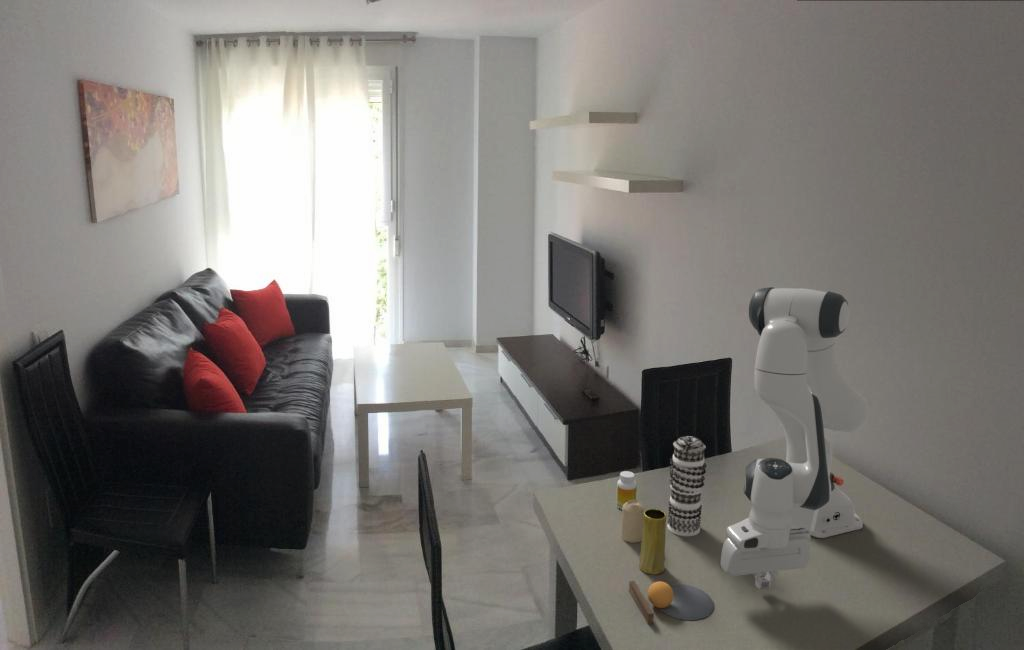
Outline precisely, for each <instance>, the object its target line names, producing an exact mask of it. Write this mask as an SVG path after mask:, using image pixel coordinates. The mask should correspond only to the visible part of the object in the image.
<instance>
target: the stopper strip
mask: <svg viewBox="0 0 1024 650" xmlns="http://www.w3.org/2000/svg"><path fill="white" fill-rule="evenodd" d="M628 581H629V580H628ZM628 584H629V585H628V592H629V594H630V596H631V597H632V599H633V602H634V603H635V605H637V608H638V609H639V611H640V613H641V615H642V616H643V618H644V619H645V622H646V623H647V625H654V621H655V613H654V611H653V610H652V607H651V606H650V604H649V602H648V601H647V599H646V597H645V596H644V595H643V593H642V591H641V590H640V588H639V586H638V585H637V582H636V581H635V580H631V581H629V582H628Z"/></svg>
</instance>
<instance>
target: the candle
mask: <svg viewBox="0 0 1024 650" xmlns="http://www.w3.org/2000/svg"><path fill="white" fill-rule="evenodd" d="M621 511H622V512H621V526H620V527H621V529H620V535H621V536H620V537H621V539H622V540H623V541H624V542H627V543H633V544H635V543H639V542H642V532H643V516H644V511H645V505H643V504H642V503H641V502H639V501H638V500H637V499H636V500H629V501H627V502H626V503H625V504H623V506H622V509H621Z"/></svg>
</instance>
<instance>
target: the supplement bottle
mask: <svg viewBox="0 0 1024 650" xmlns="http://www.w3.org/2000/svg"><path fill="white" fill-rule="evenodd" d="M637 486H638V485H637V482H636V480H635V473H634V472H632V471H627V470H625V471H621V472H620V473H619V479H618V480H617V482H616V499H615V501H616V503H615V505H616V507H617V509H619V508H620V510H622V506H623V504H625V503H626V502H627V501H629V500H637V488H638V487H637Z"/></svg>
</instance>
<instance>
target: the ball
mask: <svg viewBox="0 0 1024 650" xmlns="http://www.w3.org/2000/svg"><path fill="white" fill-rule="evenodd" d="M669 585H670V584H668V583H667V582H664V581H660V580H659V581H655V582H654V583H652V584H651V585H649V588H648V591H647V596H648V597H647V598H648V601H649V602H650V604H652V605H653V606H654V607H656V608H657V609H659V608H665V607H667V606H669V605H670V604H671V602H672V600H673V591H672V588H671V587H670V586H669Z"/></svg>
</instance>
